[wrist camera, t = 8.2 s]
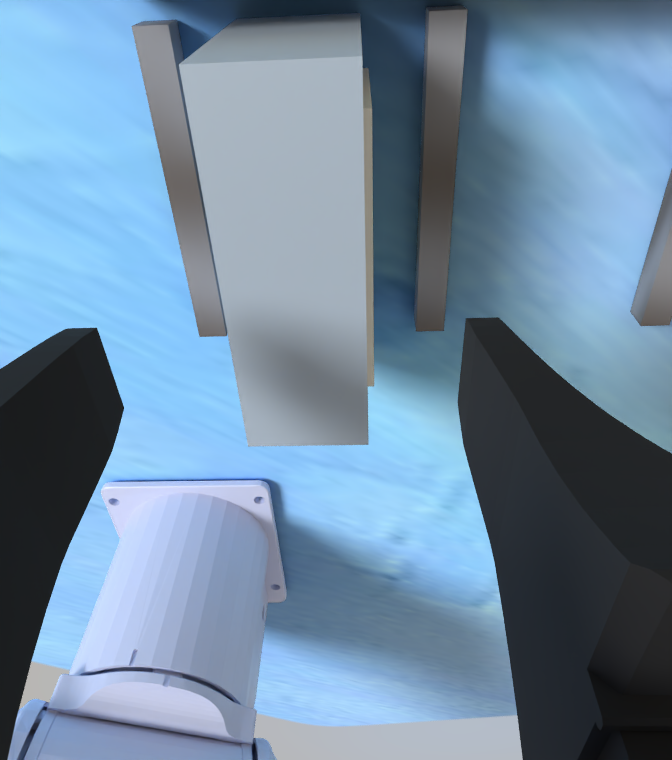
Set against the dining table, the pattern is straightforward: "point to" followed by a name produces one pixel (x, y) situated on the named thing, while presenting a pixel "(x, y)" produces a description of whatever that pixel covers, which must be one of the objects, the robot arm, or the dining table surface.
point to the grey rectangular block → (290, 219)
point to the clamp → (436, 180)
